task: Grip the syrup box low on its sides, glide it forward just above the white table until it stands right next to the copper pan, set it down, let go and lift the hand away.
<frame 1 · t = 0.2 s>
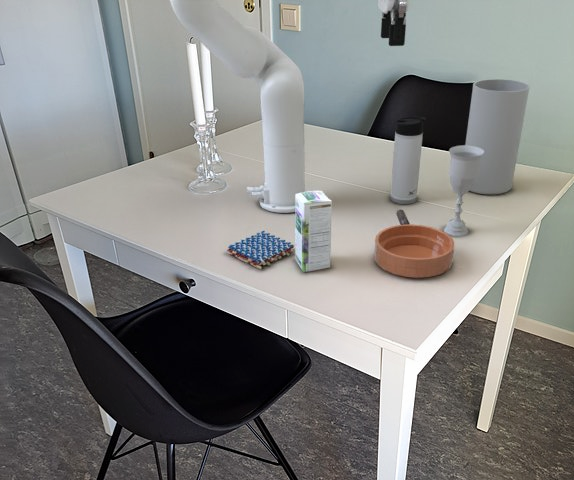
hand: (392, 41, 128), 36 cm above the table, tool pointing down, fingers open, 9 cm apart
pan: (412, 261, 121), on the table
cylinder vase: (485, 187, 154), on the table
chalice: (455, 231, 133), on the table
woven mat: (260, 254, 126), on the table
syrup box: (312, 264, 121), on the table
travel mug: (404, 200, 148), on the table
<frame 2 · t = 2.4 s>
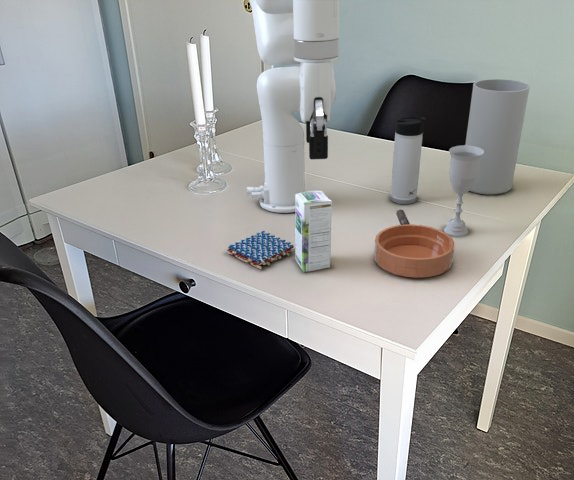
hand: (316, 150, 110), 23 cm above the table, tool pointing down, fingers open, 9 cm apart
nothing on the table moved.
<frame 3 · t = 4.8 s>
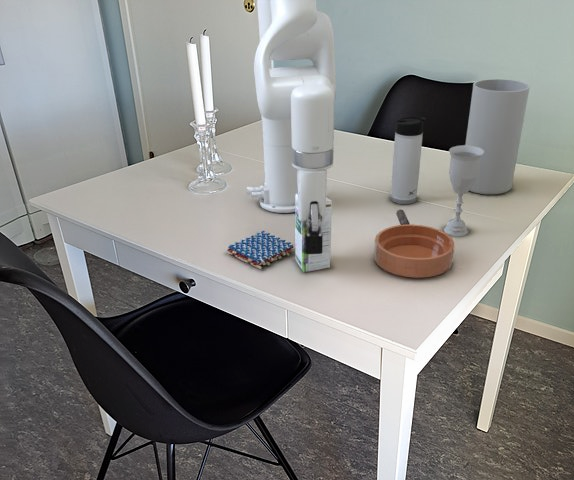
hand: (312, 243, 119), 5 cm above the table, tool pointing down, fingers closed on syrup box, 6 cm apart
syrup box: (312, 264, 121), on the table, touching gripper
everything else where it was.
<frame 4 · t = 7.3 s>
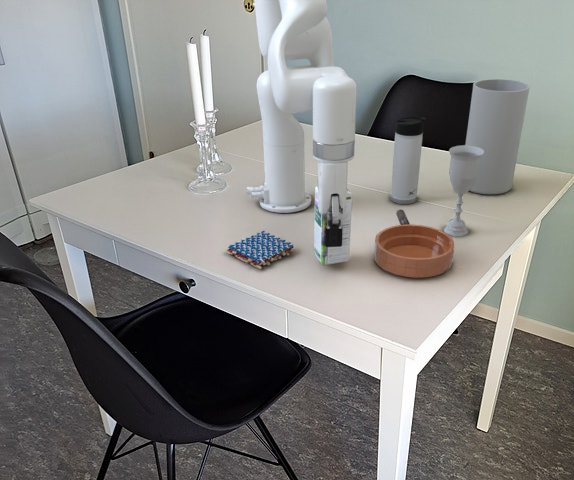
hand: (332, 236, 118), 6 cm above the table, tool pointing down, fingers closed on syrup box, 6 cm apart
syrup box: (331, 257, 121), point 1 cm above the table, touching gripper
everything else where it was.
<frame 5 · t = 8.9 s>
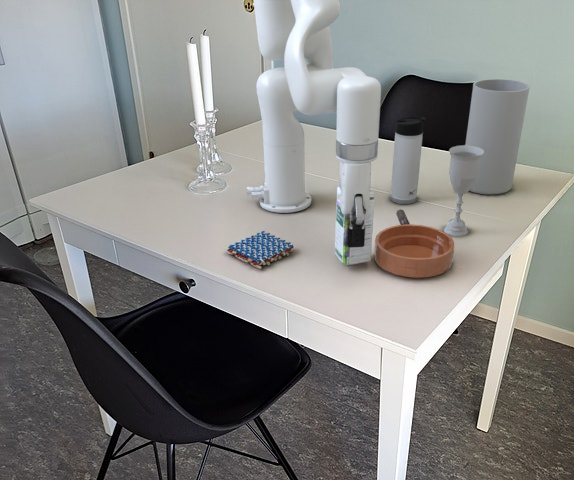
hand: (353, 237, 118), 6 cm above the table, tool pointing down, fingers closed on syrup box, 6 cm apart
syrup box: (352, 258, 121), point 1 cm above the table, touching gripper
everything else where it was.
when the fingers open (5 cm above the table, at t = 9.9 s): syrup box stays where it is, on the table.
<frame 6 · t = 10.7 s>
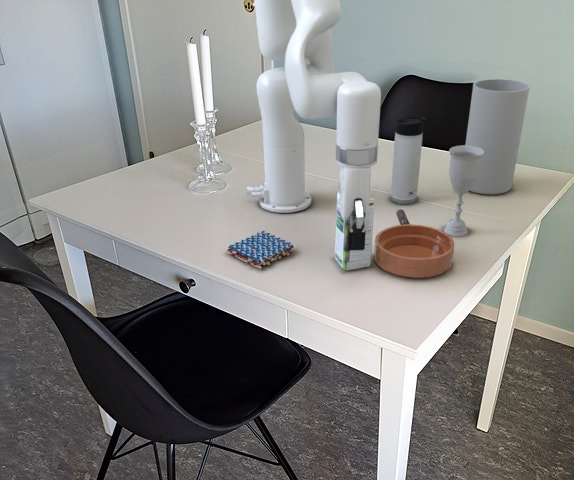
hand: (353, 237, 119), 5 cm above the table, tool pointing down, fingers open, 9 cm apart
syrup box: (352, 263, 121), on the table
everything else where it was.
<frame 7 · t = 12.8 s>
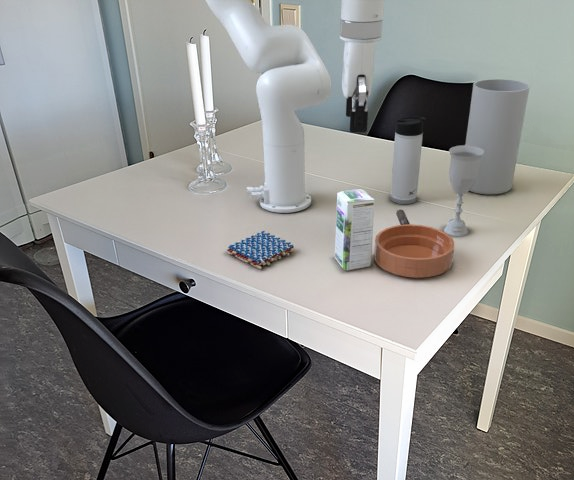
hand: (355, 123, 118), 25 cm above the table, tool pointing down, fingers open, 9 cm apart
nothing on the table moved.
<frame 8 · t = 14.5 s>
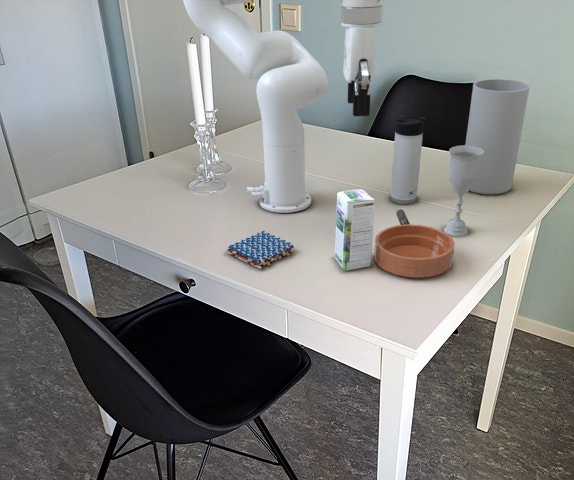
hand: (358, 109, 121), 26 cm above the table, tool pointing down, fingers open, 9 cm apart
nothing on the table moved.
at the end: syrup box inside the target area on the table beside the pan (0.4 cm from its centre), on the table; syrup box tilted 0°; the gripper is holding nothing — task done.
